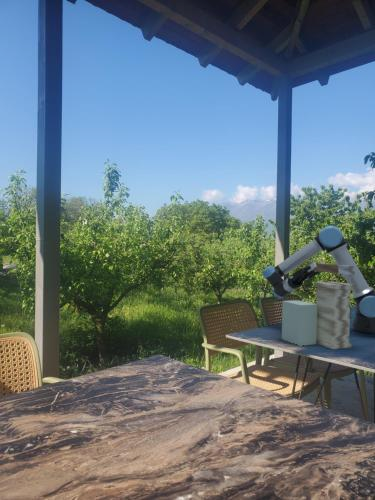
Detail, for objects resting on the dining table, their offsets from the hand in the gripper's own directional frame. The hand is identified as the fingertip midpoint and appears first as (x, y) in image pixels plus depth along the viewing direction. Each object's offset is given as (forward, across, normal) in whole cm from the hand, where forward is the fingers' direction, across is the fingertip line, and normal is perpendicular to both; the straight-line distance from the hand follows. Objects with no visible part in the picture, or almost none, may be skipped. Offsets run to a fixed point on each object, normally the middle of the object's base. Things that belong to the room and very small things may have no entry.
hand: (318, 264), depth 202 cm
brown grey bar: (+5, 0, -7) cm, 8 cm away
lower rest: (-19, +12, -34) cm, 40 cm away
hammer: (-52, -52, -15) cm, 75 cm away
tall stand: (-10, 0, -39) cm, 40 cm away
